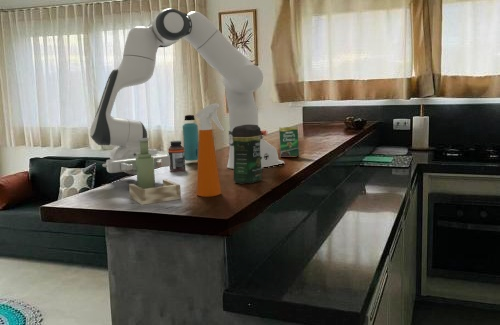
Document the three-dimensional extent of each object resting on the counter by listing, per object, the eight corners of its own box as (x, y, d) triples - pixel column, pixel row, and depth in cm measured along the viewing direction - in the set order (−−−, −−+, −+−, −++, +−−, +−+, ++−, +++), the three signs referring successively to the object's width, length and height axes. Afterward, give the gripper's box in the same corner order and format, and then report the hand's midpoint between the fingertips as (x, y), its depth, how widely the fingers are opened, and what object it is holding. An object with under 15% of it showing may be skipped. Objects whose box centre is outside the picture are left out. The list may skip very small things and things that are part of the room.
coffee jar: (251, 185, 155) (248, 126, 152) (230, 183, 159) (227, 125, 156) (266, 179, 163) (264, 123, 160) (246, 178, 167) (243, 123, 164)
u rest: (167, 192, 149) (166, 179, 148) (180, 198, 139) (180, 184, 139) (130, 197, 143) (128, 184, 143) (141, 204, 134) (140, 190, 133)
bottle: (151, 187, 158) (149, 137, 156) (157, 189, 153) (155, 138, 151) (135, 189, 155) (132, 138, 153) (140, 191, 151) (137, 139, 148)
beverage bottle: (197, 164, 202) (194, 115, 199) (182, 164, 203) (179, 115, 200) (202, 161, 208) (199, 114, 205) (187, 161, 209) (184, 114, 206)
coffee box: (280, 158, 209) (279, 127, 207) (280, 157, 212) (279, 126, 210) (299, 157, 208) (298, 126, 206) (298, 156, 211) (298, 126, 209)
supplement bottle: (169, 170, 190) (167, 140, 188) (184, 168, 191) (183, 139, 190) (170, 172, 184) (168, 142, 183) (186, 171, 185) (184, 141, 184)
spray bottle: (218, 199, 136) (213, 103, 132) (191, 195, 143) (186, 104, 139) (235, 194, 142) (231, 102, 138) (209, 190, 149) (204, 102, 145)
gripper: (100, 154, 159) (110, 159, 147) (160, 148, 169) (175, 152, 157) (101, 174, 160) (112, 180, 148) (162, 167, 170) (176, 172, 158)
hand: (145, 166), depth 152 cm, fingers open, 8 cm apart
